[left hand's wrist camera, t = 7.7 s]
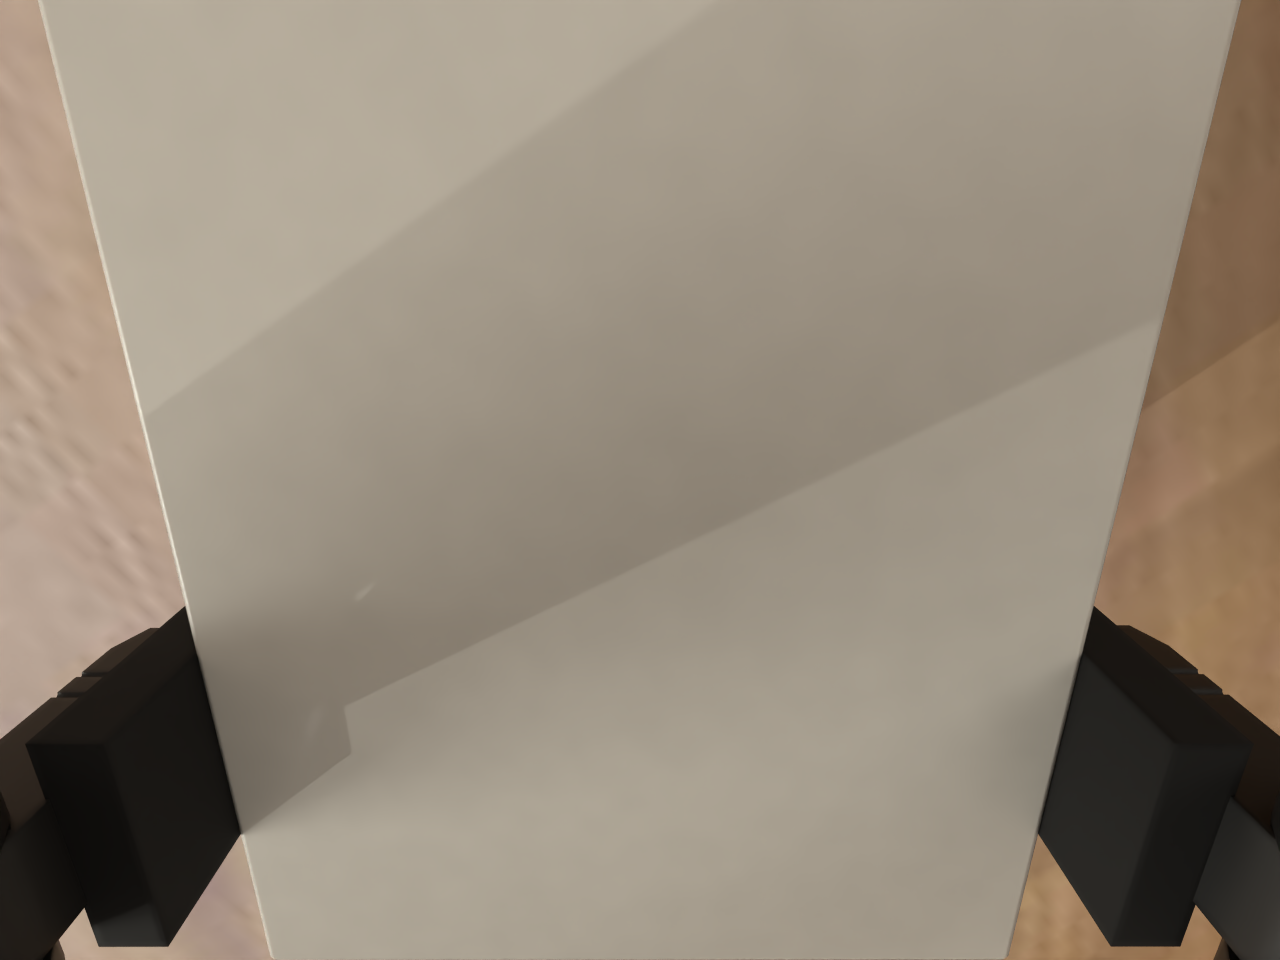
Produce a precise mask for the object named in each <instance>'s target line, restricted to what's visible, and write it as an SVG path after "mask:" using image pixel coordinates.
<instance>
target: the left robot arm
mask: <svg viewBox="0 0 1280 960" xmlns="http://www.w3.org/2000/svg"><path fill="white" fill-rule="evenodd" d="M240 834H241V832H240V828H239V824H238V820H237V816H236V812H235V808H234V804H233V799H232V795H231V791H230V787H229V783H228V779H227V775H226V771H225V767H224V763H223V758H222V754H221V750H220V746H219V742H218V738H217V734H216V730H215V726H214V721H213V717H212V713H211V709H210V705H209V701H208V697H207V693H206V689H205V684H204V680H203V676H202V672H201V668H200V664H199V660H198V656H197V652H196V648H195V643H194V639H193V635H192V631H191V627H190V623H189V619H188V615H187V611H186V606H185V607H183V608H182V609H181V610H180V611H179V612H178V613H176V614H175V615H174V616H173V617H172V618H171V619H169V620H168V621H167V622H166V623H165V624H164V625H163V626H161V627H160V628H150V629H148V630H146V631H144V632H142V633H140V634H138V635H136V636H134V637H132V638H130V639H128V640H126V641H124V642H123V643H121V644H119V645H117V646H115V647H113V648H111V649H110V650H109V651H107V652H106V653H105V654H104V655H103V656H101V657H100V658H99V659H98V660H96V661H95V662H94V663H93V664H92V665H90V666H89V667H88V668H87V669H86V670H84V671H83V672H82V676H81V677H76V678H75V679H73V680H72V681H71V682H70V683H68V684H67V685H66V686H65V687H64V688H62V689H61V690H60V691H59V692H58V695H57V697H56V698H50V699H49V700H48V701H47V702H45V703H44V704H43V705H42V706H40V707H39V708H38V709H37V710H36V711H34V712H33V713H32V714H31V715H29V716H28V717H27V718H26V719H25V720H23V721H22V722H21V723H20V724H19V725H17V726H16V727H15V728H14V729H12V730H11V731H10V732H9V733H8V734H6V735H5V736H4V737H3V738H1V739H0V960H65V956H64V952H63V950H62V947H61V945H60V942H59V939H60V937H61V936H62V935H63V934H64V932H65V931H66V930H67V929H68V927H69V926H70V925H71V924H72V922H73V921H74V920H75V919H76V917H77V916H78V915H79V914H80V912H81V911H82V910H83V909H84V907H85V910H86V913H87V916H88V918H89V921H90V924H91V927H92V929H93V932H94V935H95V938H96V940H97V943H98V946H99V947H168V946H169V945H170V943H171V941H172V940H173V938H174V937H175V935H176V934H177V932H178V931H179V929H180V927H181V926H182V924H183V923H184V921H185V920H186V918H187V917H188V915H189V913H190V912H191V910H192V909H193V907H194V906H195V904H196V903H197V901H198V900H199V898H200V896H201V895H202V893H203V892H204V890H205V889H206V887H207V886H208V884H209V882H210V881H211V879H212V878H213V876H214V875H215V873H216V872H217V870H218V868H219V867H220V865H221V864H222V862H223V861H224V859H225V858H226V856H227V854H228V853H229V851H230V850H231V848H232V847H233V845H234V844H235V842H236V840H237V839H238V837H239V836H240ZM1038 834H1039V835H1040V837H1041V839H1042V840H1043V842H1044V843H1045V845H1046V846H1047V848H1048V849H1049V851H1050V853H1051V854H1052V856H1053V857H1054V859H1055V860H1056V862H1057V863H1058V865H1059V867H1060V868H1061V870H1062V871H1063V873H1064V874H1065V876H1066V877H1067V879H1068V881H1069V882H1070V884H1071V885H1072V887H1073V888H1074V890H1075V891H1076V893H1077V895H1078V896H1079V898H1080V899H1081V901H1082V902H1083V904H1084V905H1085V907H1086V909H1087V910H1088V912H1089V913H1090V915H1091V916H1092V918H1093V919H1094V921H1095V923H1096V924H1097V926H1098V927H1099V929H1100V930H1101V932H1102V933H1103V935H1104V936H1105V938H1106V940H1107V941H1108V943H1109V944H1110V946H1181V943H1182V940H1183V938H1184V935H1185V932H1186V929H1187V927H1188V924H1189V921H1190V918H1191V916H1192V913H1193V910H1194V907H1195V905H1196V906H1197V907H1198V908H1199V909H1200V910H1201V912H1202V913H1203V914H1204V915H1205V917H1206V918H1207V919H1208V920H1209V922H1210V923H1211V924H1212V925H1213V927H1214V928H1215V929H1216V930H1217V932H1218V933H1219V934H1220V935H1221V937H1222V940H1221V942H1220V945H1219V947H1218V950H1217V952H1216V955H1215V957H1214V960H1280V736H1279V735H1278V734H1276V733H1275V732H1274V731H1273V730H1271V729H1270V728H1269V727H1268V726H1266V725H1265V724H1264V723H1263V722H1262V721H1260V720H1259V719H1258V718H1257V717H1255V716H1254V715H1253V714H1252V713H1251V712H1249V711H1248V710H1247V709H1246V708H1244V707H1243V706H1242V705H1241V704H1239V703H1238V702H1237V701H1236V700H1235V699H1233V698H1232V697H1231V696H1230V695H1223V693H1222V689H1221V688H1220V687H1219V686H1217V685H1216V684H1215V683H1214V682H1213V681H1211V680H1210V679H1209V678H1208V677H1206V676H1205V675H1204V674H1198V669H1197V668H1195V667H1194V666H1193V665H1192V664H1190V663H1189V662H1188V661H1187V660H1186V659H1184V658H1183V657H1182V656H1181V655H1179V654H1178V653H1177V652H1176V651H1174V650H1173V649H1172V648H1171V647H1170V646H1168V645H1166V644H1164V643H1162V642H1160V641H1159V640H1157V639H1155V638H1153V637H1151V636H1149V635H1147V634H1145V633H1143V632H1141V631H1139V630H1137V629H1135V628H1133V627H1131V626H1129V625H1115V624H1114V623H1113V622H1112V621H1111V620H1110V619H1108V618H1107V617H1106V616H1105V615H1104V614H1103V613H1102V612H1100V611H1099V610H1098V609H1097V608H1096V607H1095V606H1093V610H1092V614H1091V618H1090V622H1089V626H1088V631H1087V635H1086V639H1085V643H1084V647H1083V651H1082V655H1081V659H1080V663H1079V668H1078V672H1077V676H1076V680H1075V684H1074V688H1073V692H1072V696H1071V700H1070V704H1069V709H1068V713H1067V717H1066V721H1065V725H1064V729H1063V733H1062V737H1061V741H1060V745H1059V750H1058V754H1057V758H1056V762H1055V766H1054V770H1053V774H1052V778H1051V782H1050V786H1049V791H1048V795H1047V799H1046V803H1045V807H1044V811H1043V815H1042V819H1041V823H1040V827H1039V832H1038Z"/></svg>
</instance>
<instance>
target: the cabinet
mask: <svg viewBox="0 0 1280 960" xmlns="http://www.w3.org/2000/svg"><path fill="white" fill-rule="evenodd" d="M38 3H39V7H40V11H41V15H42V19H43V23H44V27H45V31H46V36H47V40H48V44H49V48H50V52H51V56H52V60H53V64H54V68H55V73H56V77H57V81H58V85H59V89H60V93H61V97H62V101H63V105H64V109H65V114H66V118H67V122H68V126H69V130H70V134H71V138H72V142H73V146H74V151H75V155H76V159H77V163H78V167H79V171H80V175H81V179H82V183H83V188H84V192H85V196H86V200H87V204H88V208H89V212H90V216H91V220H92V224H93V229H94V233H95V237H96V241H97V245H98V249H99V253H100V257H101V261H102V266H103V270H104V274H105V278H106V282H107V286H108V290H109V294H110V298H111V303H112V307H113V311H114V315H115V319H116V323H117V327H118V331H119V335H120V339H121V344H122V348H123V352H124V356H125V360H126V364H127V368H128V372H129V376H130V381H131V385H132V389H133V393H134V397H135V401H136V405H137V409H138V413H139V418H140V422H141V426H142V430H143V434H144V438H145V442H146V446H147V450H148V454H149V459H150V463H151V467H152V471H153V475H154V479H155V483H156V487H157V491H158V496H159V500H160V504H161V508H162V512H163V516H164V520H165V524H166V528H167V533H168V537H169V541H170V545H171V549H172V553H173V557H174V561H175V565H176V569H177V574H178V578H179V582H180V586H181V590H182V594H183V598H184V602H185V606H186V611H187V615H188V619H189V623H190V627H191V631H192V635H193V639H194V643H195V648H196V652H197V656H198V660H199V664H200V668H201V672H202V676H203V680H204V684H205V689H206V693H207V697H208V701H209V705H210V709H211V713H212V717H213V721H214V726H215V730H216V734H217V738H218V742H219V746H220V750H221V754H222V758H223V763H224V767H225V771H226V775H227V779H228V783H229V787H230V791H231V795H232V799H233V804H234V808H235V812H236V816H237V820H238V824H239V828H240V832H241V836H242V841H243V845H244V849H245V853H246V857H247V861H248V865H249V869H250V873H251V878H252V882H253V886H254V890H255V894H256V898H257V902H258V906H259V910H260V914H261V919H262V923H263V927H264V931H265V935H266V939H267V943H268V947H269V951H270V956H271V957H272V958H273V959H276V960H682V959H1004V958H1006V957H1007V956H1008V955H1009V951H1010V946H1011V942H1012V938H1013V934H1014V930H1015V926H1016V922H1017V918H1018V914H1019V910H1020V905H1021V901H1022V897H1023V893H1024V889H1025V885H1026V881H1027V877H1028V873H1029V869H1030V864H1031V860H1032V856H1033V852H1034V848H1035V844H1036V840H1037V836H1038V832H1039V827H1040V823H1041V819H1042V815H1043V811H1044V807H1045V803H1046V799H1047V795H1048V791H1049V786H1050V782H1051V778H1052V774H1053V770H1054V766H1055V762H1056V758H1057V754H1058V750H1059V745H1060V741H1061V737H1062V733H1063V729H1064V725H1065V721H1066V717H1067V713H1068V709H1069V704H1070V700H1071V696H1072V692H1073V688H1074V684H1075V680H1076V676H1077V672H1078V668H1079V663H1080V659H1081V655H1082V651H1083V647H1084V643H1085V639H1086V635H1087V631H1088V626H1089V622H1090V618H1091V614H1092V610H1093V606H1094V602H1095V598H1096V594H1097V590H1098V585H1099V581H1100V577H1101V573H1102V569H1103V565H1104V561H1105V557H1106V553H1107V549H1108V544H1109V540H1110V536H1111V532H1112V528H1113V524H1114V520H1115V516H1116V512H1117V508H1118V503H1119V499H1120V495H1121V491H1122V487H1123V483H1124V479H1125V475H1126V471H1127V466H1128V462H1129V458H1130V454H1131V450H1132V446H1133V442H1134V438H1135V434H1136V430H1137V425H1138V421H1139V417H1140V413H1141V409H1142V405H1143V401H1144V397H1145V393H1146V389H1147V384H1148V380H1149V376H1150V372H1151V368H1152V364H1153V360H1154V356H1155V352H1156V348H1157V343H1158V339H1159V335H1160V331H1161V327H1162V323H1163V319H1164V315H1165V311H1166V307H1167V302H1168V298H1169V294H1170V290H1171V286H1172V282H1173V278H1174V274H1175V270H1176V265H1177V261H1178V257H1179V253H1180V249H1181V245H1182V241H1183V237H1184V233H1185V229H1186V224H1187V220H1188V216H1189V212H1190V208H1191V204H1192V200H1193V196H1194V192H1195V188H1196V183H1197V179H1198V175H1199V171H1200V167H1201V163H1202V159H1203V155H1204V151H1205V147H1206V142H1207V138H1208V134H1209V130H1210V126H1211V122H1212V118H1213V114H1214V110H1215V106H1216V101H1217V97H1218V93H1219V89H1220V85H1221V81H1222V77H1223V73H1224V69H1225V64H1226V60H1227V56H1228V52H1229V48H1230V44H1231V40H1232V36H1233V32H1234V28H1235V23H1236V19H1237V15H1238V11H1239V7H1240V3H1241V0H38Z"/></svg>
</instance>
